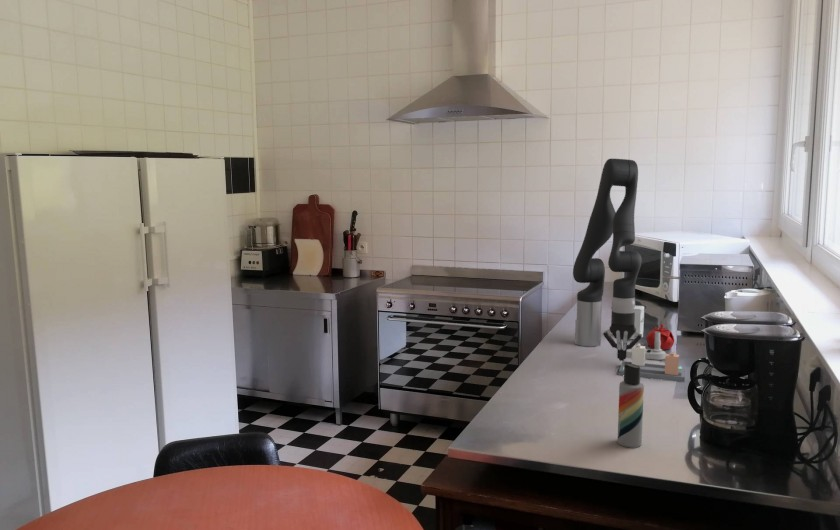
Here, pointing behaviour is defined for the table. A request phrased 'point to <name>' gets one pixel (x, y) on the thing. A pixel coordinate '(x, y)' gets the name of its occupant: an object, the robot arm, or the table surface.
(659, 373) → the switch panel
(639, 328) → the supplement box
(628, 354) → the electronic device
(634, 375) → the lotion bottle
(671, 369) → the terracotta tab
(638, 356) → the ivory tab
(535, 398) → the table surface
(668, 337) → the pomegranate
